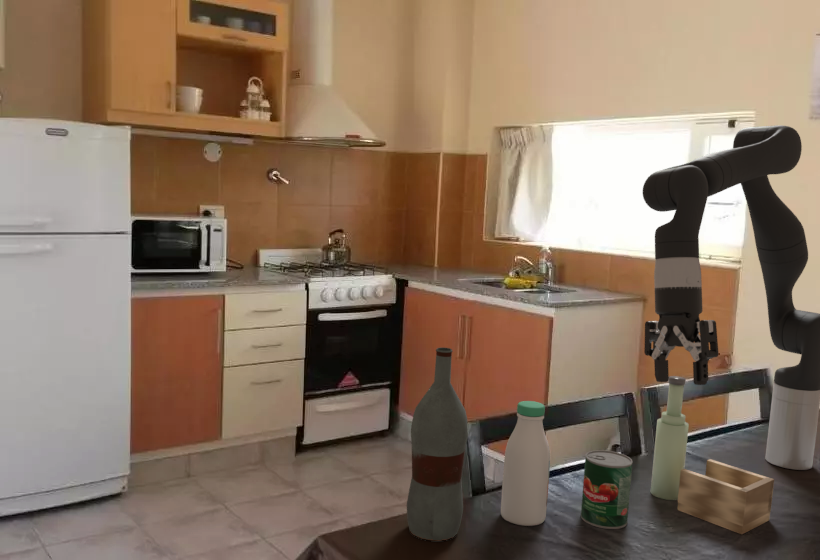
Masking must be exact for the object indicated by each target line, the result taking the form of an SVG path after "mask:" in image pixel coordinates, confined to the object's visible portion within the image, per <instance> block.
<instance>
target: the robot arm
mask: <svg viewBox="0 0 820 560" xmlns="http://www.w3.org/2000/svg"><path fill="white" fill-rule="evenodd" d="M802 147H803V146H802V139H801V136H800V134H799V132H798V131H797V130H796V129H795V128H793V127H791V126H789V125H778V124H777V125H768V126H767V125H766V126H765V125H764V126H750V127H744V128H742V129H740V130H738V131H737V133H736V134H735V136H734V139H733V143H732V148H728V149H723V150H717V151H714V152H711V153H708V154H705V155H702V156H700V157H697V158H694V159H693V160H690V161H689V162H688V161H687V162H686V163H684V164H683V163H682V164H679V165H675V166H671V167H668V168H667V167H666V168H664V169H663V168H662V169H659V170H657V171H655V172H653V173H651V174H650V175H649V176H648V177H647V178H646V180H645V181H644V183H643V187H642V197H643V200H644V202H645V204H646V205H647V206H648V207H649V208H650V209H652V210H653V211H657V212H660V213H661V212H664V213H665V212H671V211H675V212H674V215H673V217H672V219H671V220H669V221H668V222H667V223H664V224H662V225H660V226H658V227H657V228H656V230H655V232H654V259H655V261H654V273H653V274H654V275H653V280H654V283H653V285H654V311H655V312H654V313H655V314H657V315H658V316H659V318H658V320H648V321H645V322H644V348H643V349H644V355H645V356H649V357H651V359H652V360H653V361H654V362H653V363H654V377H655V380H656V382H657V383H667V382H668V380H669V376H670V375H669V360H668V359H667V358H668V357H669V355H670V352H672V350H674V349H675V348H676V347H680V348H681V347H683V348H684V349H685V350H686V351H687V352H689V354H690V356H691V358H692V359H693V361H692V370H693V371H692V372H693V373H692V374H693V385H695V386H703V385H707V382H708V381H709V380H708V379H709V361H710V360H711V359H714V358H718V357H719V354H720V353H719V344H718V330H717V321H716V320H713V319H708V320H707V319H700V314H702V312H703V289H702V288H703V287H702V285H703V284H702V269H701V264H700V245H699V243H700V242H699V240H700V239H699V237H700V236H699V234H700V229H701V225H702V221H703V217H704V214H705V210H706V209H705V208H706V204H707V201H708V197H712V196H714V195H716V194H718V193H721V192H723V191H725V190H727V189H730V188H733V187H734V186H737V185H741V188H742V191H743V194H744V197H745V200H746V204H747V207H748V208H747V209H748V212H749V216H750V220H751V227H752V230H753V235H754V242H755V246H756V247H755V248H756V252H757V258H758V261H759V265H760V269H761V274H762V279H763V283H764V290H765V296H766V304H767V305H766V306H767V315H768V326H769V334H770V337H771V341H772V343H773V346H775V347H776V348H777V349H779V350H781V351H784V352H787V353H792V354H797V355H801V357H800V361H799V363H798V364H796V365H794V366H785V367H784V366H783V367H780V368H777V369H776V370H775V372H774V377H773V386H772V394H771V395H772V396H771V404H770V412H769V413H770V414H769V423H768V424H769V425H768V431H767V440H766V446H765V447H766V449H765V457H764V458H765V460H766V462H768V463H770V464H772V465H774V466H777V467H780V468H785V469H790V470H796V471H797V470H798V471H807V470H810V469H813V461H814V454H815V447H816V439H817V430H818V424H819V423H818V421H819V414H820V313H817V312H812V311H806V310H801V309H797V308H796V307H795V305H794V302H793V301H794V300H793V290H794V287H795V284H796V283H797V281H799V278H800V277H801V275H802V274H803V272H804V270H805V268H806V266H807V263H808V261H809V250H808V243H807V238H806V232H805V229H804V226H803V224H802V222H801V221H800V220H799V218H798V217H797V215H796V214H795V213H794V212H793V211H792V210H791V209H790V207H788V206H787V205H786V204H785V203H784V202H783V200H782V199H781V198H780V197H779V196H778V195H777V194H776V192H775V190H774V189H773V187H772V185H771V182H770V180H769V177H768V176H769V175H781V174H785V173H789V172H790V171H792V170H794V168H796V166H797V165H798V163H799V162H800V159H801V155H802V150H803V148H802Z"/></svg>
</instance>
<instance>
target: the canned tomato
mask: <svg viewBox="0 0 820 560" xmlns="http://www.w3.org/2000/svg"><path fill="white" fill-rule="evenodd" d="M584 456H585V457H584V458H585V459H584V460H585V461H584V469H583V470H584V471H583V481H582V484H583V485H582V495H581V496H582V497H581V509H580V518H581V520H582V521H584V522H585V523H586V524H588V525H589V526H592V527H595V528H600V529H606V530H619V529H623V528H625V527H626V526H627V525H628V517H629V508H630V507H629V506H630V505H629V504H630V496H631V495H630V494H631V483H632V472H633V471H632V470H633V459H632V458H631V457H630V456H627V455H626V454H623V453H620V452H617V451H612V450H606V449H605V450H602V449H598V450H597V449H596V450H590V451H587V452H586V453H585V455H584Z"/></svg>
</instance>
